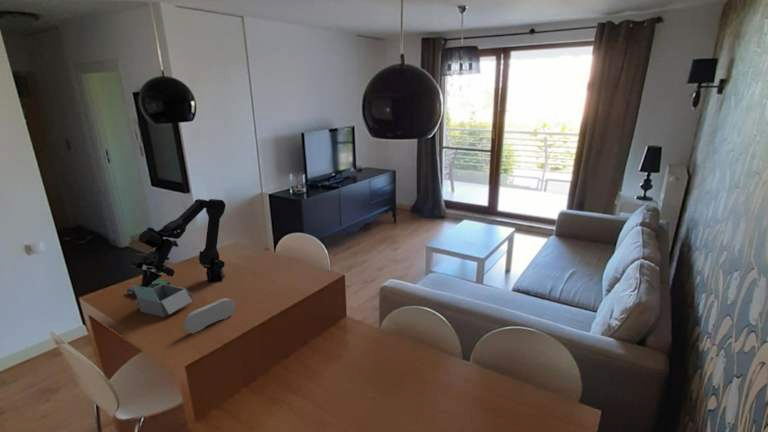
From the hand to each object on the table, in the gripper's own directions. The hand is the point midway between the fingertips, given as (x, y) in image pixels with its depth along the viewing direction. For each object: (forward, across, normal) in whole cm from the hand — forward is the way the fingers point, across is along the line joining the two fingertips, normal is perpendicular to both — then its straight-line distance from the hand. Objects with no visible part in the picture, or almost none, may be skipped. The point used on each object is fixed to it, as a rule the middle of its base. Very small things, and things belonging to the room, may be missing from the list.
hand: (142, 288), depth 155 cm
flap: (+1, 0, +2) cm, 2 cm away
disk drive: (-2, -22, +21) cm, 30 cm away
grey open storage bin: (+3, 0, +15) cm, 15 cm away
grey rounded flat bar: (+6, +30, +12) cm, 33 cm away
